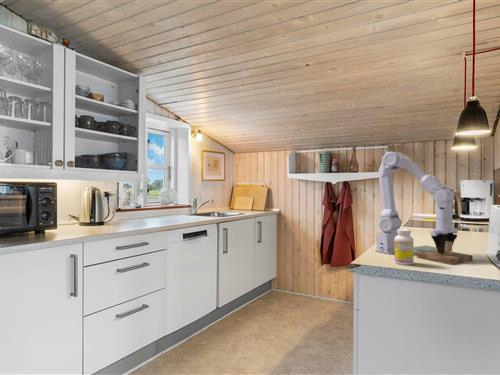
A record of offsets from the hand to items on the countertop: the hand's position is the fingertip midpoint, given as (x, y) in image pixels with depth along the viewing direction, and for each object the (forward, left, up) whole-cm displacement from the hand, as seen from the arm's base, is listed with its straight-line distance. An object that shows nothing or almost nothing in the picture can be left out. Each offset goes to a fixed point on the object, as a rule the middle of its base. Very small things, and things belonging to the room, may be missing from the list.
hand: (444, 252), depth 140 cm
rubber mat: (+12, +15, -3) cm, 19 cm away
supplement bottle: (-20, +3, -3) cm, 20 cm away
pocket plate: (0, 0, -3) cm, 3 cm away
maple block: (0, 0, -3) cm, 3 cm away
